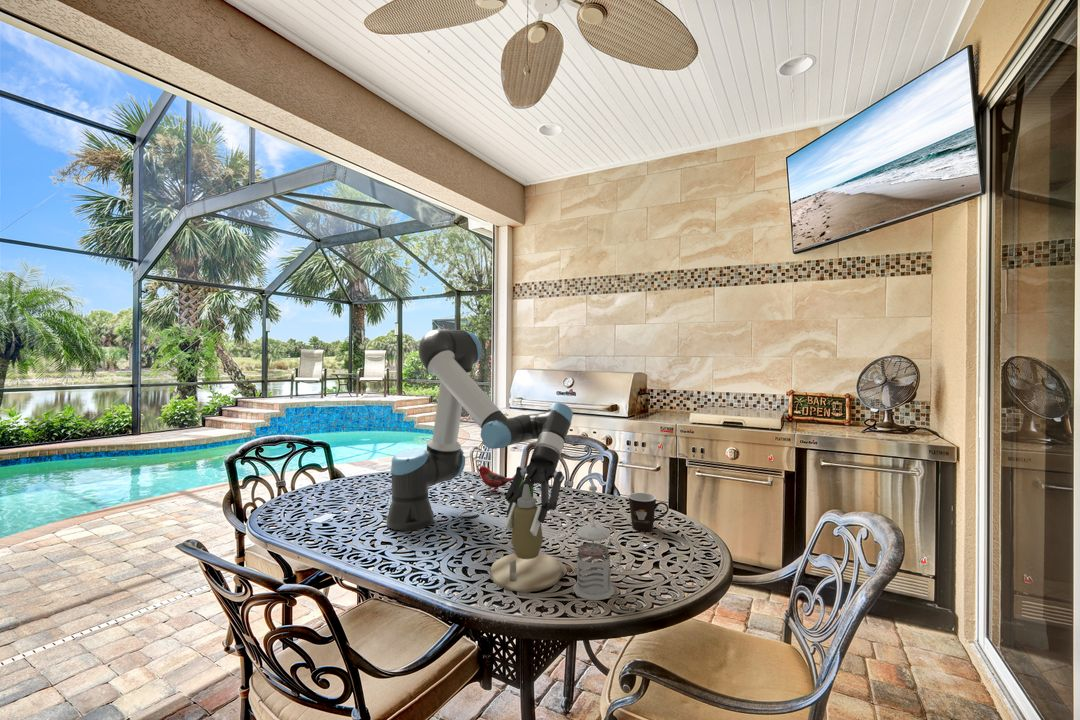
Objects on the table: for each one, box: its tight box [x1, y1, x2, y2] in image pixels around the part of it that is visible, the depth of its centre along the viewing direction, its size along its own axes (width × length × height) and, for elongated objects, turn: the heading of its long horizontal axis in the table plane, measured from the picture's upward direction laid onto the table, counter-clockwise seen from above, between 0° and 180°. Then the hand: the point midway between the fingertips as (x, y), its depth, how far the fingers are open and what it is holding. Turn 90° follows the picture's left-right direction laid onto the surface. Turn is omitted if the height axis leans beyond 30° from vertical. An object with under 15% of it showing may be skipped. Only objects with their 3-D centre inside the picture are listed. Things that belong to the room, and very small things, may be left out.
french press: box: [572, 484, 623, 601], centre depth 112 cm, size 10×12×25 cm
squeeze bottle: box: [510, 484, 544, 559], centre depth 120 cm, size 8×8×18 cm
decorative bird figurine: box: [477, 465, 514, 492], centre depth 189 cm, size 3×18×10 cm, turn 75°
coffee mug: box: [628, 492, 669, 533], centre depth 149 cm, size 12×9×10 cm
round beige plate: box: [490, 552, 563, 593], centre depth 121 cm, size 18×18×6 cm
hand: (520, 531), depth 117 cm, fingers closed on squeeze bottle, 6 cm apart
